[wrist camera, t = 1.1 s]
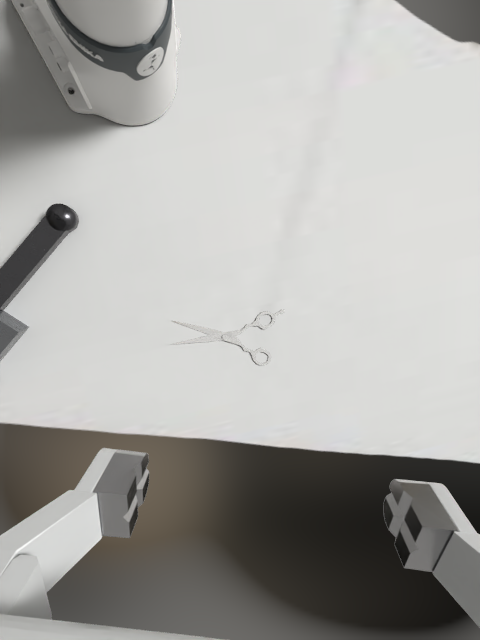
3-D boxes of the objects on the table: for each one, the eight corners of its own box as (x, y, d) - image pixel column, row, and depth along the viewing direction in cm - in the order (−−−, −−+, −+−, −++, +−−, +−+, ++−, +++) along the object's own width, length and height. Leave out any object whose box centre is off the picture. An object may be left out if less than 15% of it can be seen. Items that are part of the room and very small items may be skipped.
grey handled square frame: (-99, 340, 42) (-121, 347, 39) (37, 181, 42) (27, 174, 39) (-19, 384, 45) (-34, 393, 42) (105, 236, 46) (101, 234, 42)
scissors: (277, 365, 57) (167, 363, 51) (276, 364, 57) (167, 362, 52) (284, 309, 55) (172, 301, 50) (283, 309, 56) (171, 300, 50)
